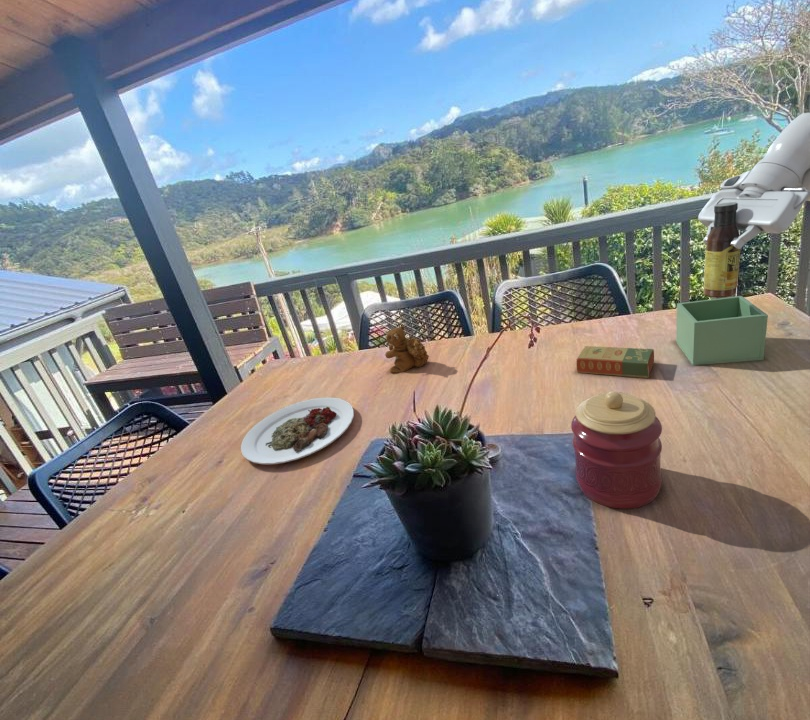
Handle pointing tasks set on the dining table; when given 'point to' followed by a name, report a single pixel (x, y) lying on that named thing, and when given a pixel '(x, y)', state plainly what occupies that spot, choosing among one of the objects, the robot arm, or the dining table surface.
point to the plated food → (297, 430)
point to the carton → (616, 361)
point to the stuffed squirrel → (405, 351)
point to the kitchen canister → (617, 450)
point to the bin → (721, 330)
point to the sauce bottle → (722, 253)
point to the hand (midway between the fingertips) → (719, 245)
